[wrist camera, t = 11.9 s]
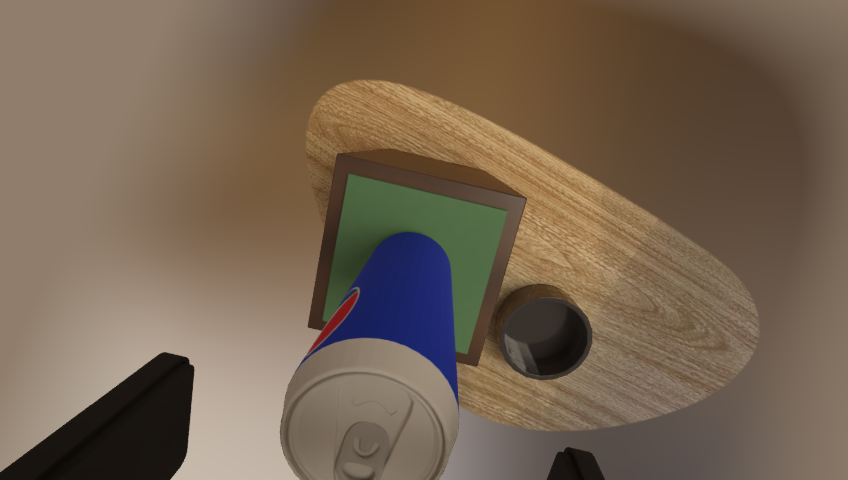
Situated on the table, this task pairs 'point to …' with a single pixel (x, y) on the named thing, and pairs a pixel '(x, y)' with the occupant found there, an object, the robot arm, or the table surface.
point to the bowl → (543, 332)
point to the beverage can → (380, 374)
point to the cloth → (426, 214)
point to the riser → (431, 179)
